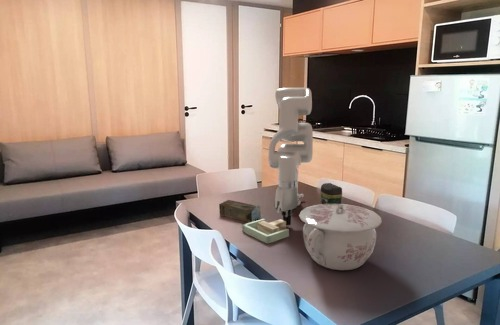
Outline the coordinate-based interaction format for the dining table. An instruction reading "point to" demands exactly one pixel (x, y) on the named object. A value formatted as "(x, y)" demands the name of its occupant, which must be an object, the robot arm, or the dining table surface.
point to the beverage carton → (240, 210)
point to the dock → (251, 230)
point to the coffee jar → (330, 194)
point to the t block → (271, 226)
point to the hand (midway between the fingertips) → (286, 224)
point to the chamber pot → (339, 234)
